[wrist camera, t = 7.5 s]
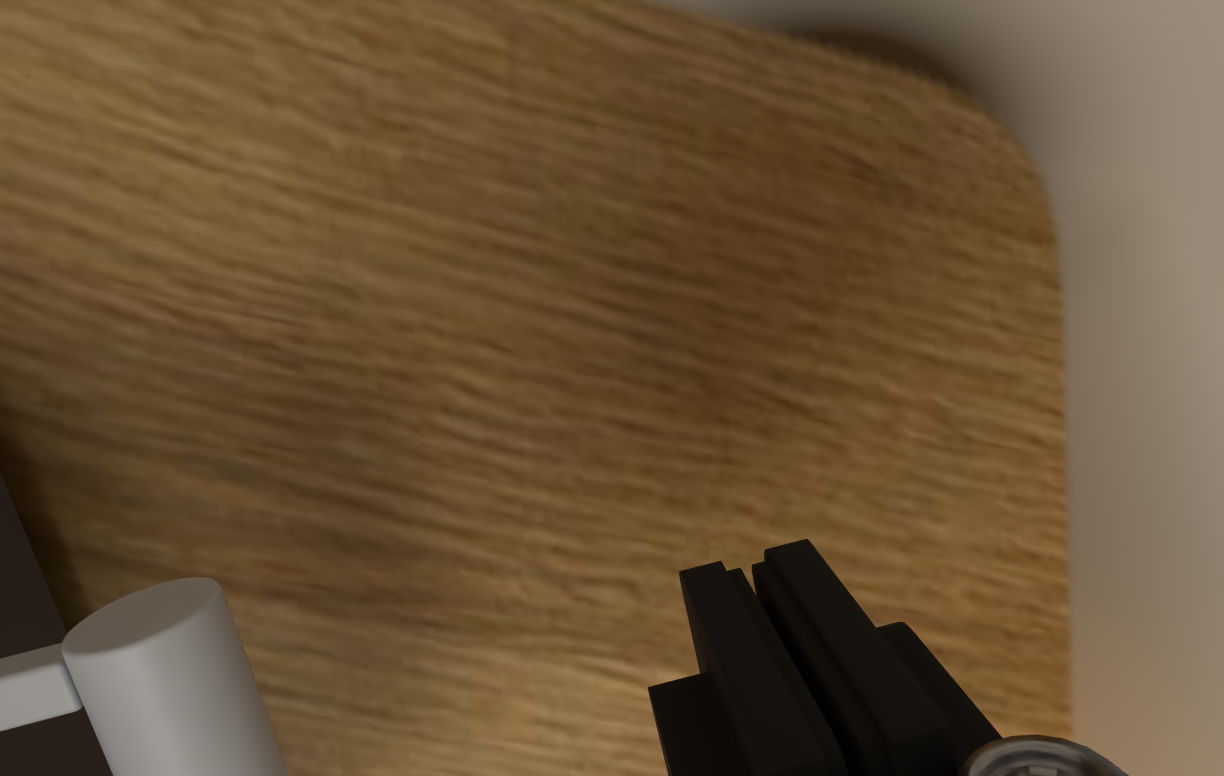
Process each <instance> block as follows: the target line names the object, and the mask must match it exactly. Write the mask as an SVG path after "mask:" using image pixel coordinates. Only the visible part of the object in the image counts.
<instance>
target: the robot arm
mask: <svg viewBox="0 0 1224 776" xmlns="http://www.w3.org/2000/svg"><path fill="white" fill-rule="evenodd" d="M764 559H765V561H764V562H760V563H756V564H752V575H753V580H754V586H755V591H756V595H755V593H754V591H753V589H752V587H751V586H750V584H749V582H748V580H747V579H746V577H745V575H744V573H743V571H742V570H741V568H737V569H733V570H729V571H726V569H725V567H724V565H723V563H722V562H721V561H718V562H714V563H710V564H706V565H702V566H698V567H694V568H690V569H687V570H683V571H679V576H680V582H681V587H682V592H683V596H684V601H685V606H686V610H687V615H688V619H689V624H690V629H691V633H692V638H693V642H694V647H695V652H696V656H697V661H698V665H699V670H700V674H697V675H693V676H689V677H685V678H681V679H678V680H674V681H670V682H666V683H662V684H658V685H655V686H651V687H648V691H649V696H650V700H651V704H652V709H653V713H654V717H655V721H656V726H657V730H658V734H659V738H660V743H661V747H662V751H663V755H664V759H665V763H666V767H667V771H668V775H669V776H1128V775H1127V774H1126V773H1124V772H1123V771H1122V770H1121V769H1119V768H1118V767H1117V766H1115V765H1114V764H1113V763H1112V762H1110V761H1109V760H1108V759H1106V758H1105V757H1103V756H1101V755H1100V754H1098V753H1096V752H1095V751H1093V750H1091V749H1090V748H1088V747H1086V746H1083V745H1080V744H1077V743H1075V742H1072V741H1069V740H1066V739H1063V738H1057V737H1050V736H1043V735H1020V736H1010V737H1006V738H1002V737H1001V735H1000V734H999V733H998V732H997V731H996V729H995V728H994V727H993V726H992V725H991V724H990V722H989V721H988V720H987V719H986V718H985V716H984V715H983V714H982V713H981V712H980V710H979V709H978V708H977V707H976V706H975V704H974V703H973V702H972V701H971V700H970V698H969V697H968V696H967V695H966V694H965V692H964V691H963V690H962V689H961V688H960V687H959V685H958V684H957V683H956V682H955V681H954V679H953V678H952V677H951V676H950V675H949V673H948V672H947V671H946V670H945V669H944V667H943V666H942V665H941V664H940V663H939V661H938V660H937V659H936V658H935V657H934V655H933V654H932V653H931V652H930V651H929V649H928V648H927V647H926V646H925V645H924V644H923V642H922V641H921V640H920V639H919V638H918V636H917V635H916V634H915V633H914V632H913V630H912V629H911V628H910V627H909V626H908V625H907V624H905V623H904V622H897V623H893V624H889V625H885V626H881V627H877V628H876V627H875V626H874V624H873V623H872V622H871V620H870V619H869V618H868V616H867V615H866V614H865V613H864V611H863V610H862V609H861V607H860V606H859V605H858V603H857V602H856V601H855V600H854V598H853V597H852V596H851V594H850V593H849V592H848V590H847V589H846V588H845V587H844V585H843V584H842V583H841V581H840V580H839V579H838V577H837V576H836V575H835V573H834V572H833V571H832V570H831V568H830V567H829V566H828V564H827V563H826V562H825V560H824V559H823V558H822V557H821V555H820V554H819V553H818V551H817V550H816V549H815V547H814V546H813V545H812V544H811V542H810V541H809V540H808V539H805V540H801V541H797V542H793V543H789V544H785V545H781V546H777V547H773V548H769V549H765V552H764Z"/></svg>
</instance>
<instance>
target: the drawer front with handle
mask: <svg viewBox="0 0 1224 776" xmlns="http://www.w3.org/2000/svg"><path fill="white" fill-rule="evenodd" d="M0 776H290V774H289V771H288V768H287V766H286V763H285V760H284V757H283V755H282V752H281V749H280V746H279V744H278V741H277V738H276V735H275V733H274V730H273V727H272V724H271V722H270V719H269V716H268V713H267V711H266V708H265V705H264V702H263V700H262V697H261V694H260V691H259V689H258V686H257V683H256V680H255V678H254V675H253V672H252V669H251V667H250V664H249V661H248V658H247V656H246V653H245V650H244V647H243V645H242V642H241V639H240V636H239V634H238V631H237V628H236V625H235V623H234V620H233V617H232V614H231V612H230V609H229V606H228V603H227V601H226V598H225V595H224V592H223V590H222V587H221V585H220V584H219V583H218V582H217V581H215V580H214V579H211V578H207V577H190V578H182V579H177V580H172V581H167V582H163V583H160V584H156V585H153V586H150V587H147V588H144V589H141V590H139V591H136V592H134V593H131V594H129V595H126V596H124V597H122V598H120V599H118V600H116V601H113V602H111V603H110V604H108V605H106V606H104V607H102V608H101V609H99V610H97V611H95V612H94V613H92V614H91V615H89V616H88V617H86V618H85V619H84V620H82V621H81V622H80V623H78V624H77V625H76V626H75V627H74V628H72V630H71V631H70V632H69V633H68V634H67V632H66V629H65V627H64V624H63V622H62V620H61V617H60V615H59V612H58V610H57V608H56V605H55V603H54V600H53V598H52V596H51V593H50V591H49V588H48V586H47V584H46V581H45V579H44V576H43V574H42V572H41V569H40V567H39V564H38V562H37V560H36V557H35V555H34V552H33V550H32V548H31V545H30V543H29V540H28V538H27V536H26V533H25V531H24V528H23V526H22V524H21V521H20V519H19V516H18V514H17V512H16V509H15V507H14V504H13V502H12V500H11V497H10V495H9V492H8V490H7V488H6V485H5V483H4V480H3V478H2V476H1V473H0Z"/></svg>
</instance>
